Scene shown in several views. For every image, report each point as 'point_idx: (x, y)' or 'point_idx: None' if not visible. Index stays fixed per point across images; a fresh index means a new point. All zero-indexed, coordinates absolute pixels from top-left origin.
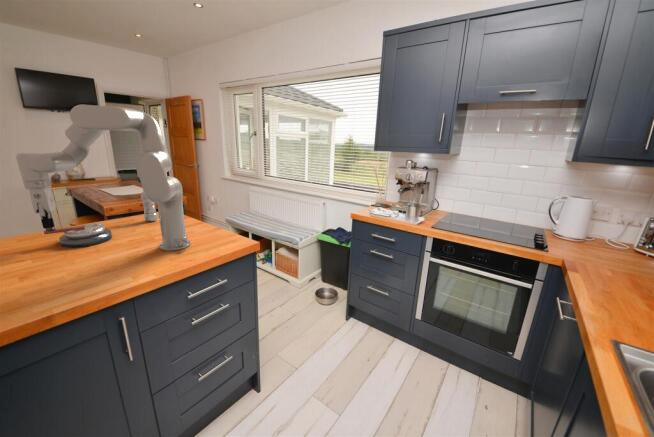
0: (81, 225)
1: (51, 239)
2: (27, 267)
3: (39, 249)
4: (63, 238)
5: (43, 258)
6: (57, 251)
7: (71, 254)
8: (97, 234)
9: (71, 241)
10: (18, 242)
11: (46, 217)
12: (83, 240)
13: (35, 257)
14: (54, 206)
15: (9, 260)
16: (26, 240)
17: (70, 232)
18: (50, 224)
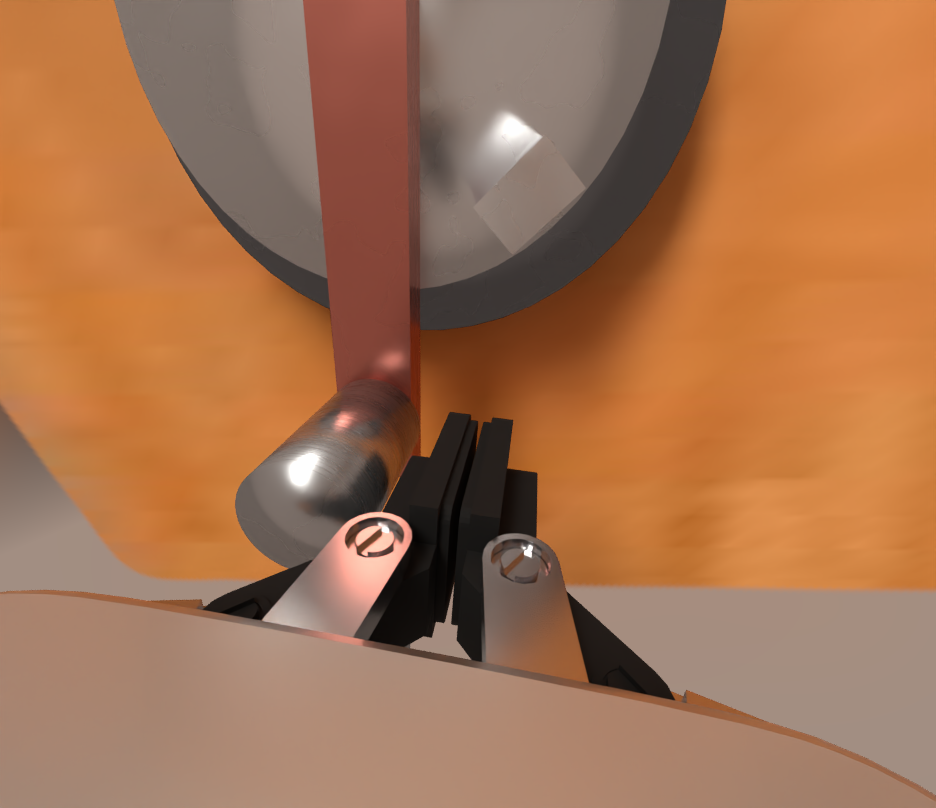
0: (150, 70)
1: (238, 376)
2: (902, 502)
3: (477, 443)
4: (446, 294)
5: (758, 421)
6: (634, 334)
7: (853, 221)
8: None
9: (640, 212)
10: (233, 535)
11: (585, 632)
12: (706, 62)
13: (678, 463)
14: (57, 692)
15: (619, 572)
16: (203, 502)
17: (560, 208)
18: (516, 476)
